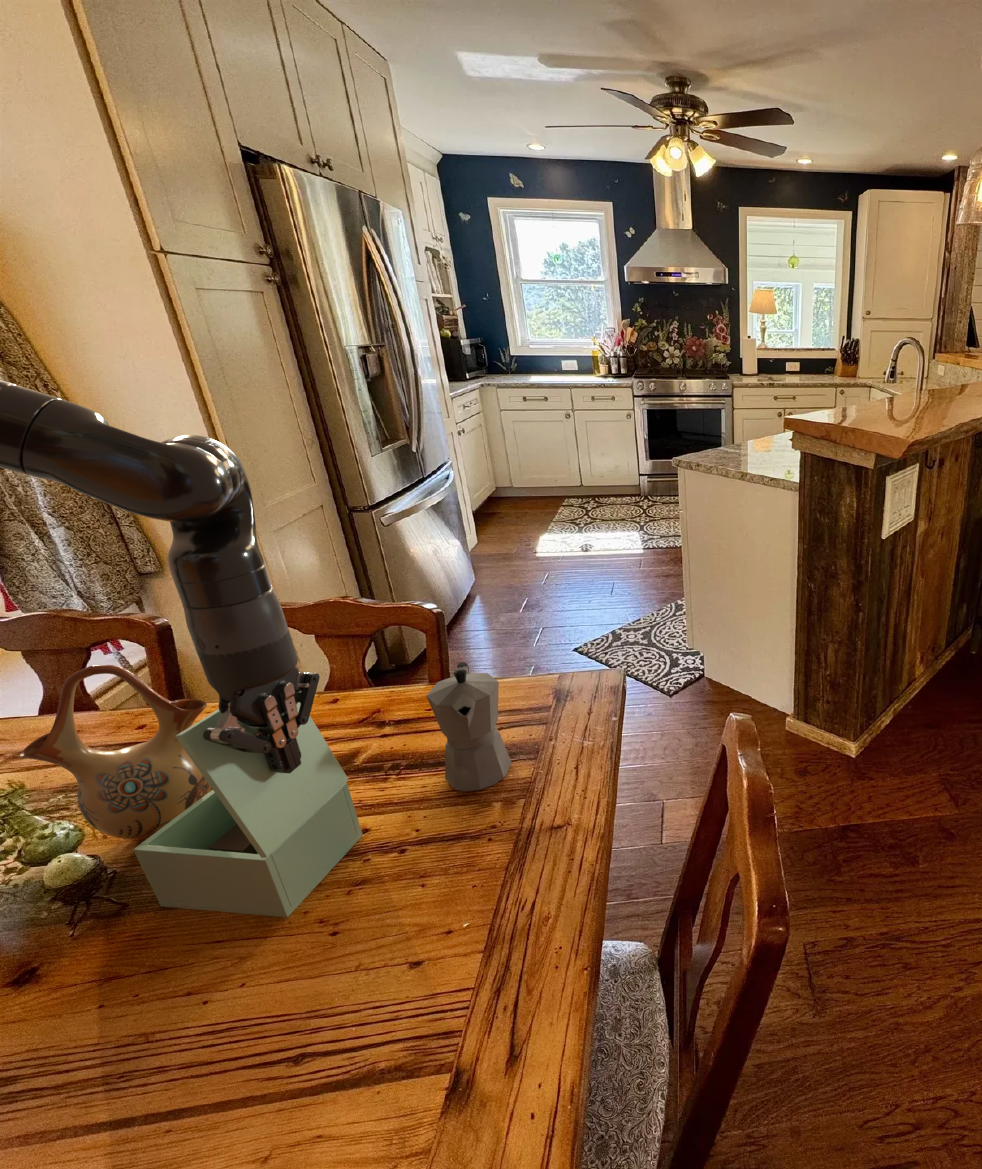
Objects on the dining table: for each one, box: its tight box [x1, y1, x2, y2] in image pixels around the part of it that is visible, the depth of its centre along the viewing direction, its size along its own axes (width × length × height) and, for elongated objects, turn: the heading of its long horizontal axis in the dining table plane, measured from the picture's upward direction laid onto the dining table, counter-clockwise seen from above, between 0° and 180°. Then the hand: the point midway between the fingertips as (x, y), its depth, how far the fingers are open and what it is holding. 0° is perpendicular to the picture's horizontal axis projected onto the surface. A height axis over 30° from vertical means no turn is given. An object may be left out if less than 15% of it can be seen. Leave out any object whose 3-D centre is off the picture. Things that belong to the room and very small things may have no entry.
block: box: [209, 824, 258, 854], centre depth 77 cm, size 4×4×4 cm
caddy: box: [132, 782, 364, 918], centre depth 76 cm, size 16×13×9 cm
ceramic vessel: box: [19, 664, 212, 841], centre depth 78 cm, size 16×9×25 cm, turn 131°
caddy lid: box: [175, 702, 349, 858], centre depth 71 cm, size 16×13×1 cm
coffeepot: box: [426, 661, 513, 792], centre depth 93 cm, size 15×9×18 cm, turn 26°
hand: (288, 768), depth 71 cm, fingers closed
